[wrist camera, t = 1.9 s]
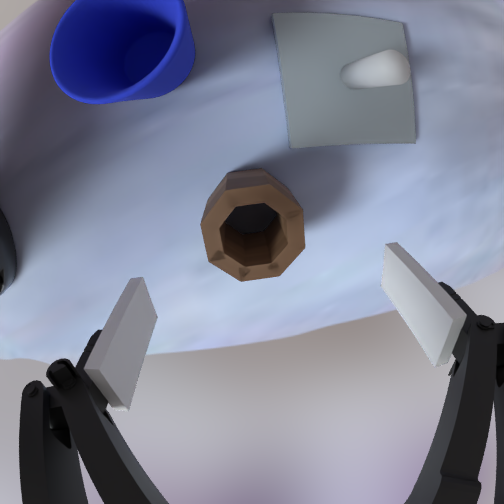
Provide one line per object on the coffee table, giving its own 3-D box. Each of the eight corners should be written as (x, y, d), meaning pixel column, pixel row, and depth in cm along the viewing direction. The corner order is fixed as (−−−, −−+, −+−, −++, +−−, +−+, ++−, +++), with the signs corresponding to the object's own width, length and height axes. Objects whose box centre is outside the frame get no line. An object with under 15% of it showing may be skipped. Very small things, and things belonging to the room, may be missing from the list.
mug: (203, -21, 16) (188, -81, 7) (207, 99, 21) (188, 88, 12) (113, -3, 15) (61, -43, 6) (114, 114, 21) (49, 119, 12)
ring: (217, 250, 27) (214, 285, 22) (203, 176, 24) (194, 195, 19) (292, 239, 27) (306, 272, 22) (285, 165, 24) (300, 180, 19)
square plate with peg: (289, 147, 23) (314, 162, 16) (271, 16, 18) (287, -22, 11) (410, 142, 23) (464, 157, 16) (397, 25, 18) (447, 6, 11)
